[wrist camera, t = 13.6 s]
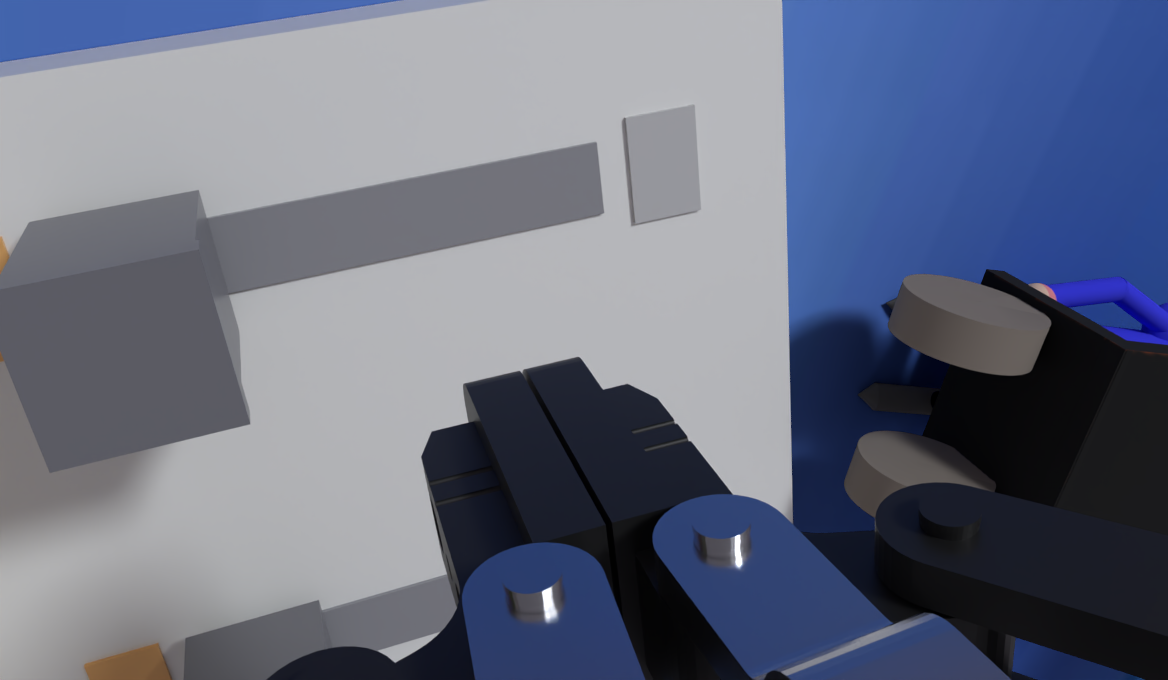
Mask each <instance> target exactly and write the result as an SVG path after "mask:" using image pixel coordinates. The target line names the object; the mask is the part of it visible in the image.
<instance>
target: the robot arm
mask: <svg viewBox="0 0 1168 680" xmlns="http://www.w3.org/2000/svg"><path fill="white" fill-rule="evenodd" d="M463 394H464V401H465V406H466V412H467V417H468V423H464V424H460V425H456V426H452V427H448V428H444V429H440V430H436V431H432V432H431V434H430V437H429V439H428V441H427V444H426V446H425V449H424V451H423V454H422V456H421V459H422V464H423V468H424V473H425V478H426V483H427V488H428V492H429V497H430V502H431V507H432V511H433V516H434V521H435V526H436V530H437V535H438V540H439V545H440V549H441V554H442V558H443V562H444V565H445V569H446V572H447V576H448V579H449V583H450V586H451V590H452V593H453V597H454V600H455V604H456V607H457V609H456V611H455V613H454V615H453V617H452V618H451V620H450V621H449V622H448V624H447V625H446V627H445V628H444V629H443V630H442V631H441V632H440V633H439V634H438V635H437V636H436V637H435V638H433V639H432V640H431V641H430V642H428V643H427V644H426V645H424V646H423V647H421V648H420V649H418V650H417V651H415V652H413V653H412V654H410V655H408V656H406V657H405V658H403V659H401V660H399V661H397V662H396V663H395V662H394V661H392V660H391V659H390V658H389V657H388V656H386V655H384V654H382V653H380V652H378V651H375V650H372V649H369V648H363V647H356V646H342V647H334V648H328V649H324V650H320V651H316V652H313V653H310V654H308V655H305V656H302V657H300V658H298V659H296V660H294V661H292V662H290V663H288V664H287V665H285V666H284V667H282V668H280V669H279V670H277V671H276V672H275V673H274V674H272V675H271V676H270V677H269V678H267V679H266V680H1036V679H1033V678H1030V677H1028V676H1025V675H1022V674H1019V673H1016V672H1013V671H1012V667H1013V657H1014V648H1015V638H1020V639H1023V640H1026V641H1029V642H1032V643H1035V644H1038V645H1041V646H1044V647H1047V648H1051V649H1054V650H1057V651H1060V652H1063V653H1066V654H1069V655H1072V656H1075V657H1078V658H1081V659H1085V660H1088V661H1091V662H1094V663H1097V664H1100V665H1103V666H1106V667H1109V668H1112V669H1116V670H1119V671H1122V672H1125V673H1128V674H1131V675H1134V676H1137V677H1140V678H1142V679H1145V680H1168V536H1167V535H1163V534H1159V533H1155V532H1151V531H1147V530H1143V529H1139V528H1135V527H1131V526H1127V525H1123V524H1119V523H1115V522H1111V521H1107V520H1103V519H1099V518H1095V517H1091V516H1087V515H1083V514H1079V513H1075V512H1071V511H1067V510H1063V509H1059V508H1055V507H1051V506H1047V505H1043V504H1039V503H1035V502H1031V501H1028V500H1024V499H1020V498H1016V497H1012V496H1008V495H1004V494H1000V493H996V492H992V491H988V490H984V489H980V488H976V487H972V486H967V485H962V484H956V483H946V482H932V483H921V484H916V485H911V486H908V487H905V488H902V489H900V490H897V491H895V492H893V493H892V494H890V495H889V496H888V497H886V498H885V499H884V500H883V501H882V502H881V503H880V505H879V507H878V509H877V511H876V516H875V531H855V532H836V533H807V532H800V531H799V530H798V529H797V528H796V527H795V526H794V525H793V524H792V523H791V522H790V521H789V520H788V519H787V518H786V517H785V516H784V515H783V514H782V513H781V512H779V511H778V510H777V509H776V508H774V507H772V506H771V505H769V504H767V503H765V502H763V501H760V500H758V499H754V498H750V497H747V496H740V495H733V494H732V493H731V491H730V490H729V489H728V487H727V486H726V485H725V484H724V482H723V481H722V480H721V479H720V477H719V476H718V475H717V473H716V472H715V471H714V470H713V468H712V467H711V466H710V465H709V463H708V462H707V461H706V459H705V458H704V457H703V456H702V454H701V453H700V452H699V450H698V449H697V448H696V447H695V445H694V444H693V443H692V442H691V441H688V437H687V435H686V434H685V433H684V431H683V430H682V429H681V428H680V426H679V425H678V424H675V422H674V419H673V417H672V416H671V415H670V414H669V412H668V411H667V410H666V408H665V407H664V406H663V405H662V403H661V402H660V401H659V400H658V398H656V397H654V396H652V395H650V394H648V393H646V392H644V391H642V390H640V389H637V388H635V387H633V386H631V385H629V384H625V385H620V386H616V387H612V388H608V389H604V390H603V389H602V388H601V386H600V385H599V383H598V382H597V380H596V379H595V378H594V376H593V375H592V373H591V372H590V370H589V369H588V367H587V366H586V365H585V363H584V362H583V360H582V359H581V358H580V357H575V358H570V359H566V360H562V361H557V362H553V363H549V364H545V365H540V366H536V367H532V368H528V369H524V370H523V372H522V373H521V372H520V371H516V372H511V373H507V374H503V375H498V376H494V377H490V378H486V379H481V380H477V381H473V382H468V383H464V384H463Z"/></svg>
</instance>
